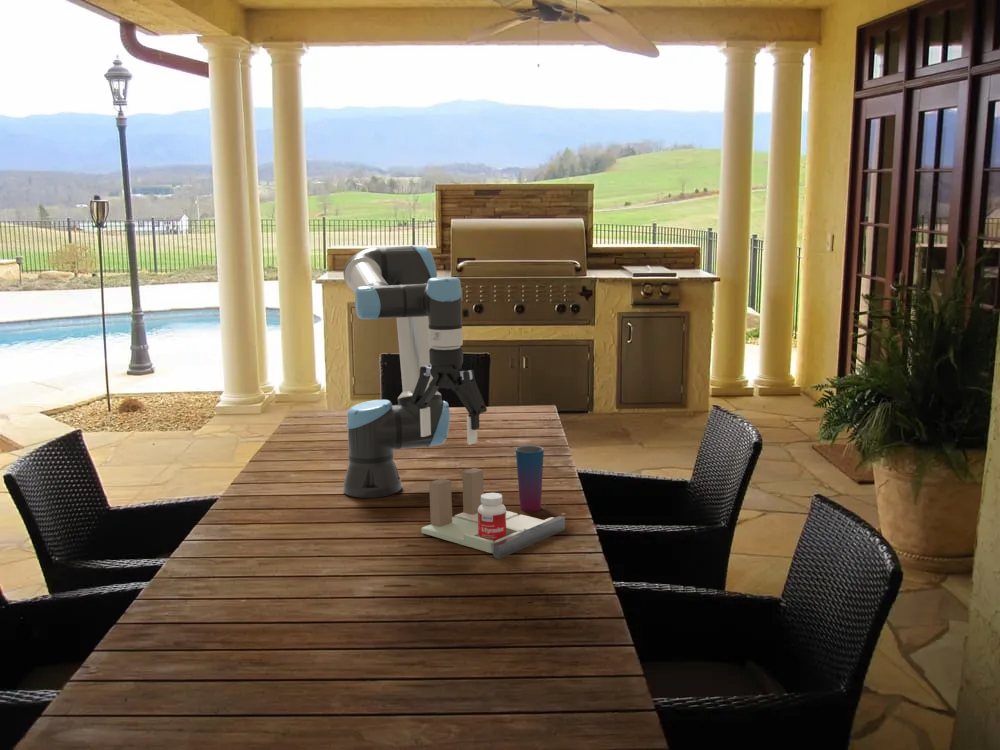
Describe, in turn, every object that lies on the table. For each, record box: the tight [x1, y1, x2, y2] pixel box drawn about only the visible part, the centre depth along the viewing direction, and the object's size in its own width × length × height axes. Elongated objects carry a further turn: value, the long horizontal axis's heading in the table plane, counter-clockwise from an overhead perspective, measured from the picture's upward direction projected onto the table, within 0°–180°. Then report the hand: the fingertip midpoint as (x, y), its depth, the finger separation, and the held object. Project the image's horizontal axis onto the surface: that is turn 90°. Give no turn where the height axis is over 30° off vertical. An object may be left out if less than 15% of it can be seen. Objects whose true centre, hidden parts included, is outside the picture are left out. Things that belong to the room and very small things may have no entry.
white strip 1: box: [454, 467, 519, 523], centre depth 222 cm, size 11×10×11 cm
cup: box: [515, 444, 545, 512], centre depth 230 cm, size 7×7×15 cm
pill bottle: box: [478, 492, 507, 541], centre depth 206 cm, size 6×6×11 cm
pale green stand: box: [421, 477, 523, 555], centre depth 210 cm, size 22×10×11 cm, turn 49°
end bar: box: [493, 515, 566, 560], centre depth 207 cm, size 2×23×3 cm, turn 140°
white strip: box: [506, 514, 555, 531], centre depth 215 cm, size 10×10×2 cm
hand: (448, 439), depth 215 cm, fingers open, 13 cm apart
